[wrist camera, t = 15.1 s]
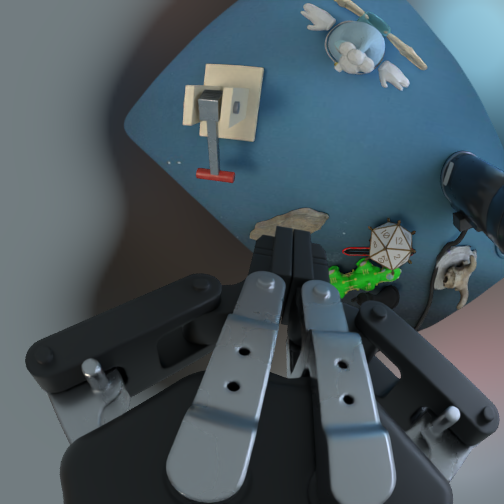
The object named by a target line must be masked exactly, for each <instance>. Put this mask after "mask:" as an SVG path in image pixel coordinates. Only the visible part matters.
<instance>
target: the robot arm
mask: <svg viewBox="0 0 504 504" xmlns="http://www.w3.org/2000/svg"><path fill="white" fill-rule="evenodd" d="M441 188H442V191H443V193H444V195H445V196H446V198H447V199H448V200H450V202H451V206H452V207H453V208H454V209H455V210H456V211H457V212H455V213H453V224H454V226H455V227H456V228H457V229H458V230H459V231H460V232H461V231H462V232H461V234H460V236H459V237H458V238H457V239H456V240H455V241H451V242H448V243H447V244H446V245H445V246H444V247H443V249H442V250H441V252H440V258H441V257H442V256H443V255H444V254H445V252H446V250H447V249H448V248H449V247H450V246H455V245H457V244H459V243H460V242H461V241H462V239H463V238H464V236H465V234H466V232H467V230H468V229H470V228H474V229H475V230H476V231H478V232H480V231H483V232H484V233H485V234H486V235H487V236H488V238H489V239H490V240H491V241H492V242H493V243H494V244H495V245H496V246H497V247H498V248H499V249H500V250H501V252H502V253H503V254H504V172H503V171H502V170H500V169H498V168H497V167H495V166H493V165H491V164H490V163H488V162H486V161H484V160H482V159H480V158H478V157H477V156H475V155H474V154H472V153H470V152H467V151H459V152H456V153H454V154H453V155H451V156H450V157H449V158H448V159H447V161H446V162H445V164H444V166H443V168H442V172H441ZM440 258H439V259H438V261H440ZM436 264H437V263H436ZM327 265H328V264H327V257H326V251H325V250H324V249H323V248H322V246H321V245H320V244H315V243H311V234H310V231H304V230H298V229H294V230H293V228H287V227H281V226H276V231H275V237H274V236H268V235H262V236H261V237H259V238H258V239H257V241H256V245H255V249H254V253H253V257H252V262H251V265H250V270H249V274H248V276H247V278H246V279H245V280H244V281H242V282H240V283H237V284H234V285H221V283H220V281H219V280H218V279H217V278H215V277H213V276H211V275H208V274H192V275H189V276H187V277H184V278H182V279H180V280H178V281H175V282H173V283H171V284H168V285H166V286H164V287H161V288H159V289H157V290H154V291H152V292H150V293H147V294H145V295H143V296H140V297H138V298H136V299H133V300H131V301H129V302H126V303H124V304H122V305H119V306H117V307H115V308H113V309H110V310H108V311H106V312H103V313H101V314H99V315H96V316H94V317H92V318H89V319H87V320H85V321H82V322H80V323H78V324H76V325H73V326H71V327H69V328H67V329H64V330H62V331H59V332H58V333H55V334H53V335H50V336H48V337H46V338H43V339H41V340H39V341H37V342H36V343H34V344H33V345H32V346H31V347H30V348H29V350H28V352H27V354H26V359H25V362H26V367H27V369H28V370H29V372H30V373H31V375H32V376H33V377H34V379H35V380H36V381H37V383H38V384H39V385H40V387H41V388H42V389H43V390H44V391H45V393H46V394H47V395H48V396H49V398H50V401H51V403H52V406H53V408H54V410H55V413H56V415H57V418H58V420H59V422H60V424H61V427H62V429H63V431H64V433H65V435H66V437H67V439H68V441H69V443H70V446H69V447H68V448H67V450H66V452H65V454H64V455H63V458H62V461H61V466H60V479H61V485H62V491H63V499H64V504H453V494H452V489H451V487H450V484H449V482H450V481H451V480H452V478H453V477H454V476H455V474H456V473H457V471H458V470H459V468H460V467H461V465H462V464H463V462H464V461H465V459H466V458H467V456H468V455H469V453H470V452H471V450H472V449H473V448H474V447H476V446H477V445H478V444H479V443H480V442H481V441H483V440H484V439H485V438H487V437H488V436H490V435H491V434H492V433H494V432H495V431H496V429H497V428H498V425H499V413H498V411H497V408H496V407H495V405H494V404H493V403H492V402H491V401H490V400H489V399H488V398H487V397H486V396H485V395H484V394H483V393H482V392H481V391H480V390H479V389H478V388H477V387H476V386H475V385H474V384H473V383H472V382H471V381H470V380H469V379H468V378H466V376H464V375H463V374H462V373H461V372H460V371H459V370H458V369H457V368H456V367H455V366H454V365H453V364H452V363H451V362H450V361H449V360H448V359H446V358H445V357H444V356H443V355H442V354H441V353H440V352H439V351H438V350H437V349H436V348H434V347H433V346H432V345H431V344H430V343H429V342H428V341H427V340H425V339H424V338H423V337H422V336H421V335H420V334H419V333H418V332H417V331H418V329H419V327H420V326H421V324H422V322H423V321H424V319H425V317H426V315H427V313H428V311H429V309H430V306H431V303H432V299H433V290H434V283H435V279H436V276H437V272H438V268H439V267H438V266H437V267H436V265H435V269H436V270H435V269H434V272H433V276H432V279H431V284H430V294H429V300H428V304H427V307H426V309H425V311H424V313H423V315H422V317H421V319H420V320H419V322H418V324H417V326H416V327H415V329H413V328H412V327H411V326H410V325H409V324H408V323H407V322H405V321H404V320H403V319H402V318H401V317H400V316H398V315H397V314H396V313H395V312H394V311H393V310H392V309H390V308H389V307H388V306H387V305H385V304H383V303H381V302H378V301H366V302H364V303H362V305H361V306H360V309H359V308H356V307H354V306H351V305H348V304H346V303H344V302H342V301H341V297H340V294H339V291H338V290H337V289H336V288H335V287H334V286H333V285H331V284H330V277H329V270H328V266H327ZM281 316H282V321H281V324H284V325H288V330H287V333H288V336H287V340H286V348H287V349H286V350H287V378H285V377H282V376H279V375H277V374H274V373H271V372H270V368H271V363H272V358H273V353H274V349H275V344H276V339H277V334H278V329H279V323H280V320H281ZM378 349H379V350H380V351H381V352H382V353H383V354H384V355H385V356H386V357H387V358H388V359H389V360H390V361H391V362H393V364H395V365H396V366H397V367H398V369H399V370H400V373H401V378H400V379H399V378H397V377H396V376H395V375H394V374H393V373H392V372H391V371H390V370H389V369H388V368H387V367H386V366H385V365H384V364H383V363H382V362H381V361H380V360H379V359H378V358H377V357H376V356H375V354H376V352H377V351H378ZM213 350H214V351H213ZM212 351H213V354H212V356H211V359H210V361H209V364H208V367H207V369H206V370H205V371H200V372H197V373H194V374H191V375H188V376H186V377H184V378H182V379H180V380H179V381H177V382H176V383H174V384H172V385H171V386H169V387H168V388H166V389H164V390H163V391H161V392H159V393H158V394H156V395H155V396H153V397H151V398H149V399H148V400H146V401H144V402H143V403H141V404H139V405H138V406H136V407H134V408H132V409H131V410H129V411H127V409H128V408H129V405H130V397H132V396H134V395H136V394H138V393H140V392H142V391H143V390H145V389H147V388H149V387H151V386H153V385H155V384H156V383H158V382H160V381H162V380H164V379H165V378H167V377H169V376H171V375H173V374H174V373H176V372H178V371H180V370H181V369H183V368H185V367H186V366H188V365H190V364H192V363H193V362H195V361H197V360H199V359H200V358H202V357H204V356H205V355H207V354H209V353H210V352H212ZM126 411H127V412H126Z"/></svg>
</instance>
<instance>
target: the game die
mask: <svg viewBox="0 0 504 504" xmlns="http://www.w3.org/2000/svg"><path fill="white" fill-rule="evenodd" d="M387 221H388V222H387V223H385V224H383V225H381V226H378V227H376V228H374V229H372V227H369V226H368V228H369V229H370V230H371V231H372V232H371V239H370V240H369V242H370V251H369V257H366V258H365V260H369V259H371V260H373V261H375V262H377V263H379V264H381V265H382V268H384V267H386V268H388V269H389V270H391V271H392V272H391V274H392V276H393V275H394V270H395V269H397V268H398V267H400V266H401V265H403V264H404V263H406V262H407V261H408V263H409V264H412V262H411V260H409V258H410V255H411V252H412V253H415V252H416V251H415V249H413V250H412V235H414V234H415V232H416V231H412V233H411V232H409V231H408V230H406V229H405V228H403V227H402V226H400V223H401V222H400V220H399V221H398V222H397V224H396V223H392V222H390V218H389V217H388V219H387Z"/></svg>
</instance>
